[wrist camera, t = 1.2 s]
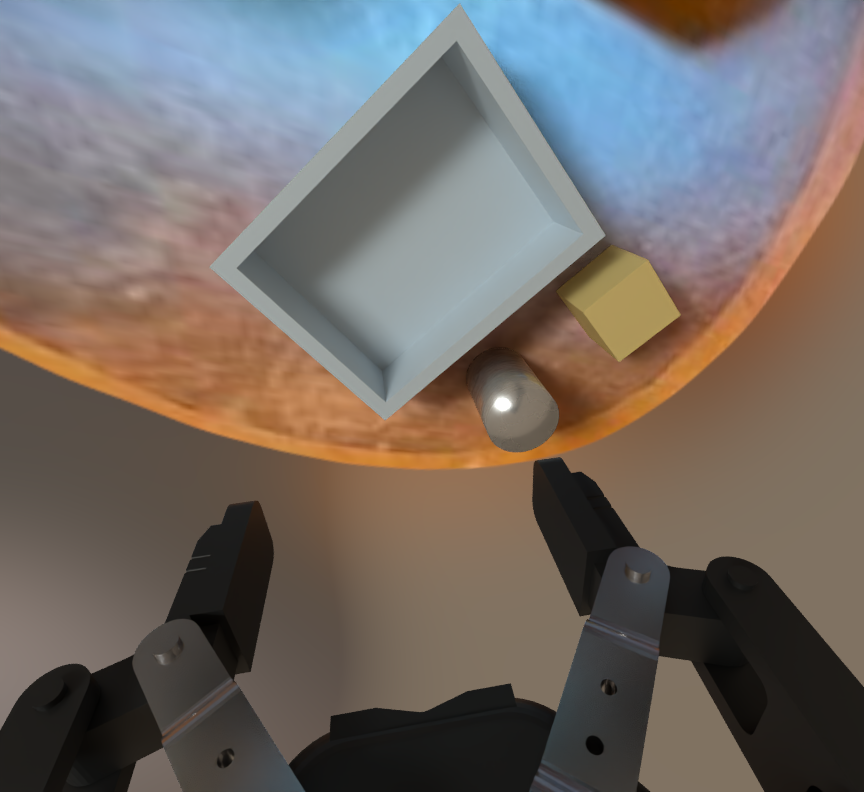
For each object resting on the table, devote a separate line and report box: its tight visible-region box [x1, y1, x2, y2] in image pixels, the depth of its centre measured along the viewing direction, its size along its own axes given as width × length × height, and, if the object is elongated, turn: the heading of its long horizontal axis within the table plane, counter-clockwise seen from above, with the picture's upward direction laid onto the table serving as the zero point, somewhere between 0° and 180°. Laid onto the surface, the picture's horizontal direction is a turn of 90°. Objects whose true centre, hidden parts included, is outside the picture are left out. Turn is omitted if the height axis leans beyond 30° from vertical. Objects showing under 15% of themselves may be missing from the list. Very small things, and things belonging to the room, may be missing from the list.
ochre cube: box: [556, 245, 680, 362], centre depth 34 cm, size 5×5×5 cm
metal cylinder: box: [466, 348, 559, 452], centre depth 35 cm, size 5×5×7 cm
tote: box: [210, 3, 606, 420], centre depth 30 cm, size 18×14×6 cm
